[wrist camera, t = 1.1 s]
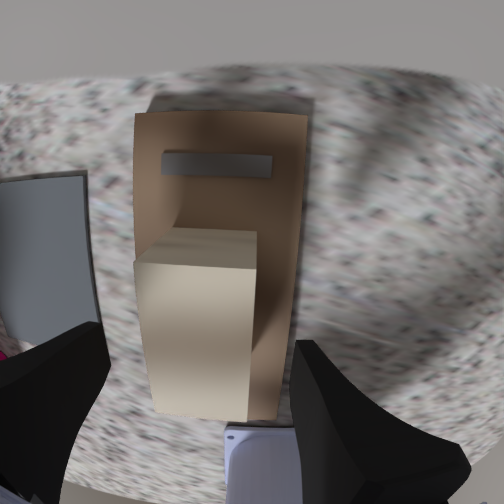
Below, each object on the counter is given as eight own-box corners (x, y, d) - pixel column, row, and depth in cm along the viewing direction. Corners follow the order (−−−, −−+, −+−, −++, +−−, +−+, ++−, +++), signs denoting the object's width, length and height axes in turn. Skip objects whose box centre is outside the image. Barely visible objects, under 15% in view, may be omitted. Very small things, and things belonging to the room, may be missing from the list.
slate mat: (108, 358, 18) (106, 361, 18) (10, 334, 18) (8, 336, 18) (85, 175, 15) (82, 175, 14) (-18, 185, 15) (-21, 185, 14)
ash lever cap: (249, 355, 16) (247, 422, 12) (178, 350, 16) (155, 412, 12) (256, 231, 14) (256, 269, 10) (172, 227, 14) (133, 262, 10)
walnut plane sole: (275, 407, 19) (276, 422, 18) (161, 398, 19) (156, 411, 18) (303, 118, 14) (308, 114, 12) (143, 116, 14) (133, 113, 12)
